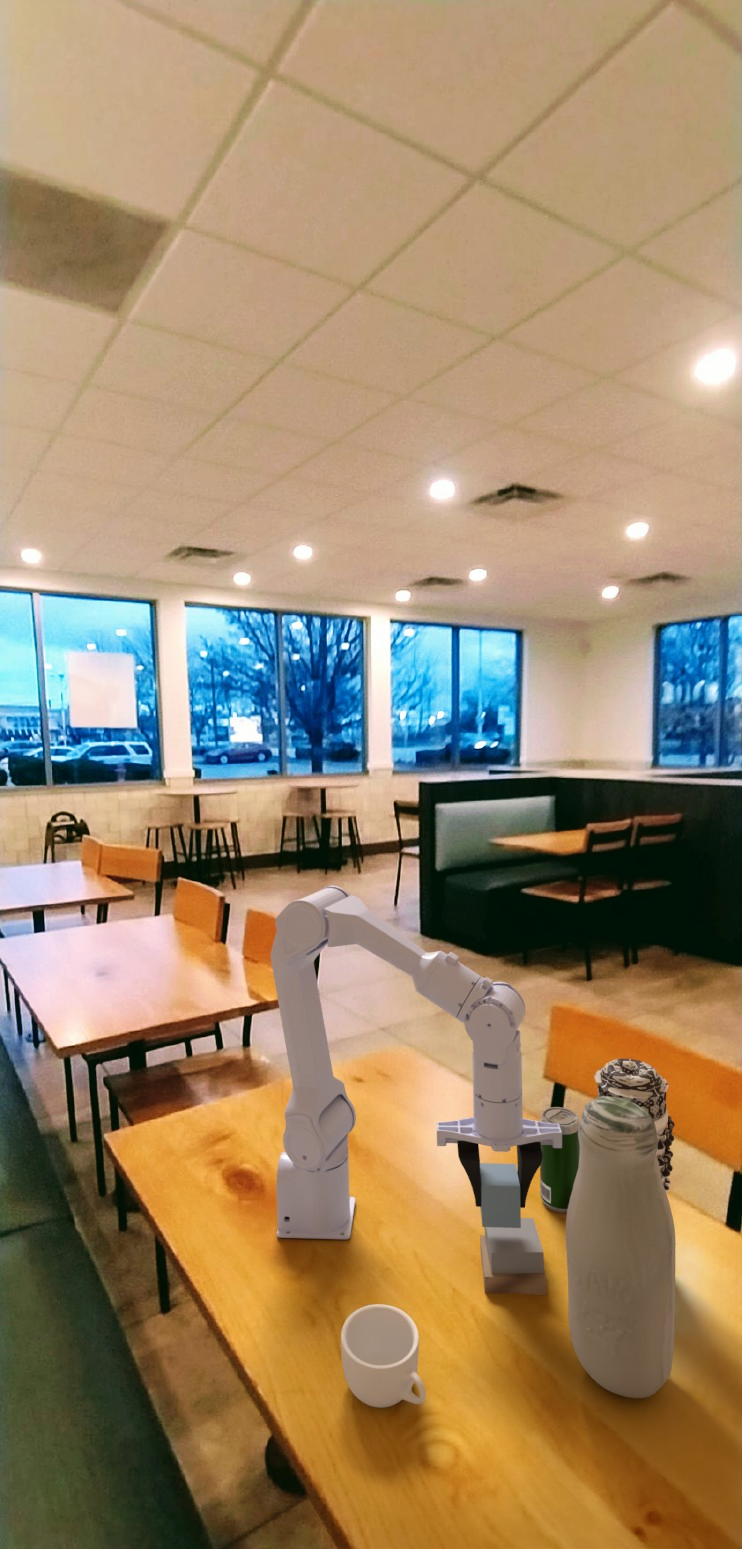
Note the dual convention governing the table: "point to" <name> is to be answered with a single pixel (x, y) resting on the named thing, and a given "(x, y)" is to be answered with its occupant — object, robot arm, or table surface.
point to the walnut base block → (510, 1278)
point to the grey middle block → (515, 1249)
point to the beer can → (560, 1160)
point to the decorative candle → (641, 1101)
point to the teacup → (381, 1356)
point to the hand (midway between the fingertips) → (499, 1201)
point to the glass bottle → (621, 1252)
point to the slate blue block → (500, 1195)
